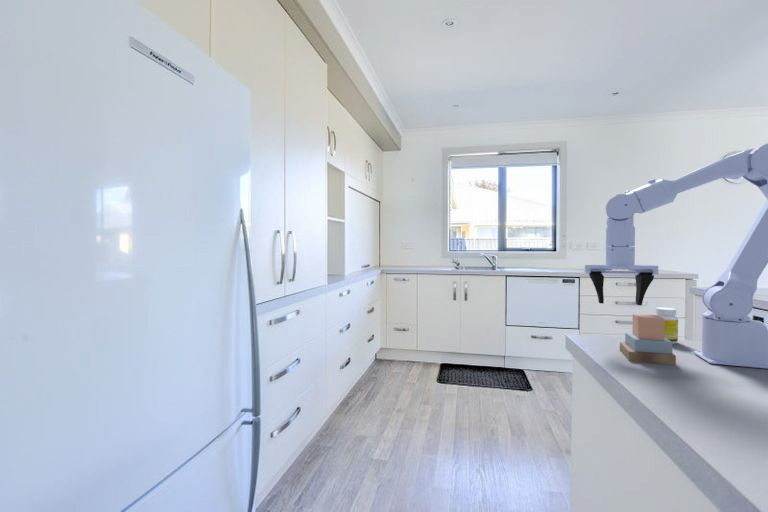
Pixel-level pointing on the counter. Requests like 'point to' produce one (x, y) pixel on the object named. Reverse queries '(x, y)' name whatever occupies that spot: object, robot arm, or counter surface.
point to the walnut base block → (647, 356)
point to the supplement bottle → (669, 323)
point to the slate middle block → (649, 344)
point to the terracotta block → (648, 327)
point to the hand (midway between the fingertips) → (619, 303)
